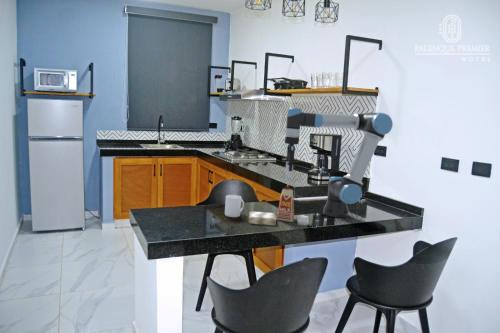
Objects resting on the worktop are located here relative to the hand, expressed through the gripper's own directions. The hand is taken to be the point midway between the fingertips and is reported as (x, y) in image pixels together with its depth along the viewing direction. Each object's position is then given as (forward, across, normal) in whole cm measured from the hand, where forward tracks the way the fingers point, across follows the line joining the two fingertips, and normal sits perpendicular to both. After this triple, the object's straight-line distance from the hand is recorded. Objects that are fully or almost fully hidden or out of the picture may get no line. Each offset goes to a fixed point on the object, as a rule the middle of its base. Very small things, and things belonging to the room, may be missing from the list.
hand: (288, 175), depth 227 cm
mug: (+25, +1, -28) cm, 37 cm away
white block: (+25, +8, +9) cm, 27 cm away
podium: (+25, +9, -13) cm, 29 cm away
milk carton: (+25, 0, 0) cm, 25 cm away
